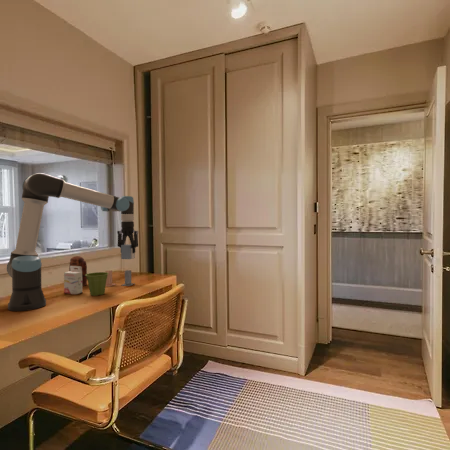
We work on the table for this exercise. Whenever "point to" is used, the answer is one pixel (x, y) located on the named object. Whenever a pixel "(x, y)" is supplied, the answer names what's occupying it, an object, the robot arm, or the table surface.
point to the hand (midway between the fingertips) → (128, 258)
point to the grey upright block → (126, 251)
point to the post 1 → (109, 278)
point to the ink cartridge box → (73, 280)
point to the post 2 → (127, 278)
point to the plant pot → (97, 282)
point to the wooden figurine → (80, 262)
